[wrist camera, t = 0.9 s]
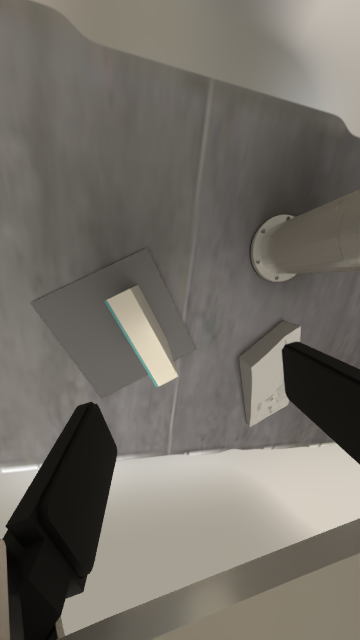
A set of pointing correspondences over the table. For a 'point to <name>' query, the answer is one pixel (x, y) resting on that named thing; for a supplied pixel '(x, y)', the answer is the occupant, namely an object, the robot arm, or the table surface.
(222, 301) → the table surface
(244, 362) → the ramp
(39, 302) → the mat
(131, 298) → the tile
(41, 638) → the robot arm
